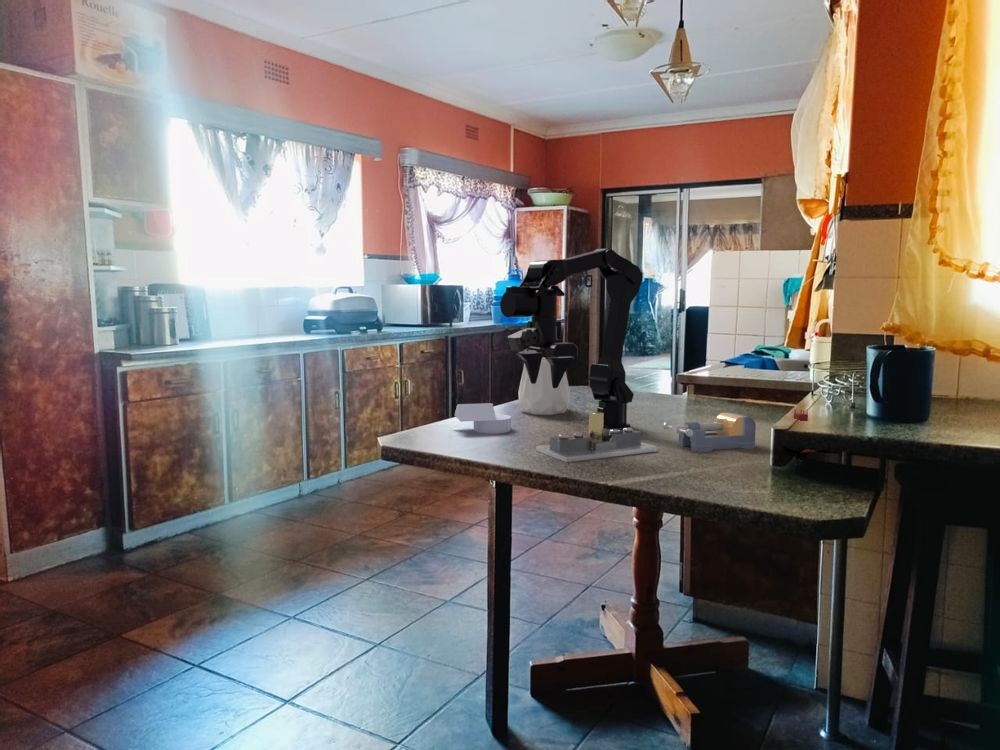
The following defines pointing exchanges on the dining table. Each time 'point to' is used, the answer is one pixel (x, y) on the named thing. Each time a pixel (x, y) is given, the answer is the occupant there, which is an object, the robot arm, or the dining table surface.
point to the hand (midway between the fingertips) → (543, 385)
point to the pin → (596, 426)
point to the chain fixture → (595, 445)
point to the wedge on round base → (483, 418)
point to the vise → (717, 433)
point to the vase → (543, 392)
